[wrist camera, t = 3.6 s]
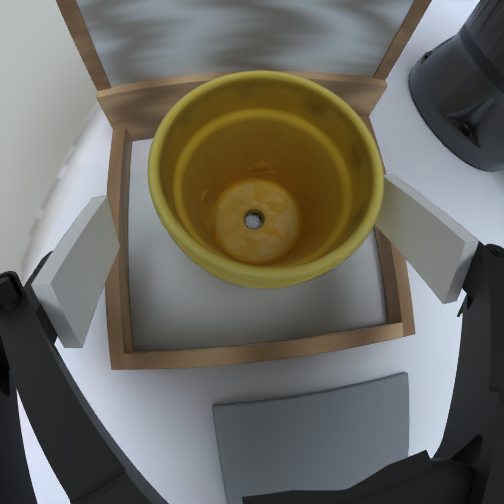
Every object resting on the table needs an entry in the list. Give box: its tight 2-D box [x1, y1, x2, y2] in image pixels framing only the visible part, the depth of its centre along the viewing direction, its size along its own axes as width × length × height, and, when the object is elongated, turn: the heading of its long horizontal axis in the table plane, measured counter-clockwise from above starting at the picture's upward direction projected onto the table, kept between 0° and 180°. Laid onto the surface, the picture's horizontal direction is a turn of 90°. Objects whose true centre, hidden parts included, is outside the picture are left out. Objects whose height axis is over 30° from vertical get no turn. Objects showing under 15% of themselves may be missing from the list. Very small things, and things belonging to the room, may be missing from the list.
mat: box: [212, 372, 409, 504], centre depth 18 cm, size 14×14×1 cm
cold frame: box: [56, 0, 432, 370], centre depth 13 cm, size 20×19×18 cm
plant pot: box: [148, 70, 384, 289], centre depth 17 cm, size 10×10×10 cm
